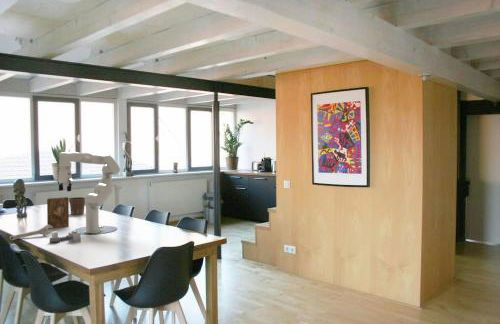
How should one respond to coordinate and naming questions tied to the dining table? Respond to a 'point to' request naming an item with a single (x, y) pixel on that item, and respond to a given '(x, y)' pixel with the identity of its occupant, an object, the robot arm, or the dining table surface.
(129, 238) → the dining table surface
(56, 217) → the book
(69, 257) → the dining table surface
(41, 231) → the wrench
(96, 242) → the dining table surface
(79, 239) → the cube with metal dome
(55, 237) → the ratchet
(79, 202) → the plant pot
